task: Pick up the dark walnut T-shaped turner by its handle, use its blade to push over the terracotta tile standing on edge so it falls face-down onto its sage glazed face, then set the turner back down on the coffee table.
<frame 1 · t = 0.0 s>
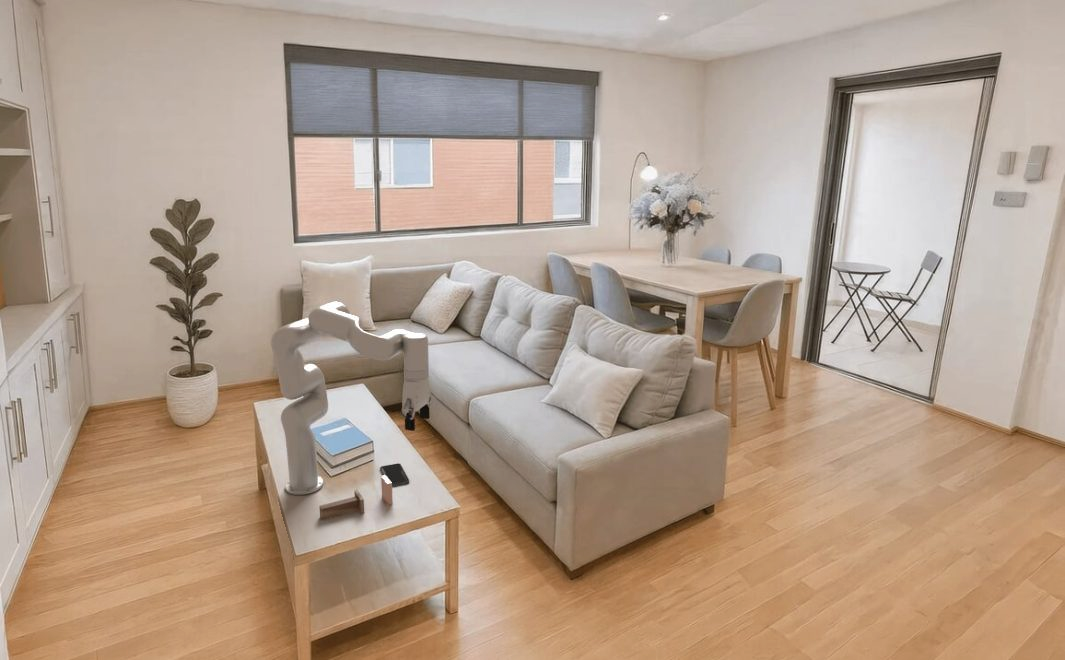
hand: (417, 423, 198), 31 cm above the table, tool pointing down, fingers open, 9 cm apart
phone: (394, 477, 229), on the table
turner: (339, 513, 204), on the table
tile: (387, 500, 212), on the table
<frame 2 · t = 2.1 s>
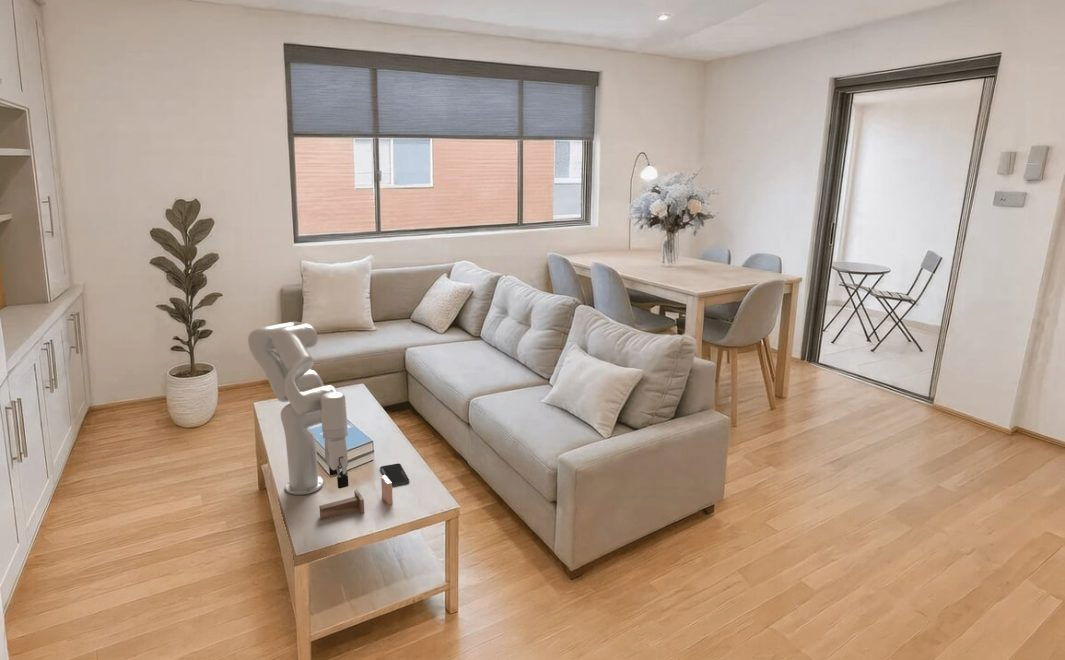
hand: (338, 480, 200), 12 cm above the table, tool pointing down, fingers open, 9 cm apart
nothing on the table moved.
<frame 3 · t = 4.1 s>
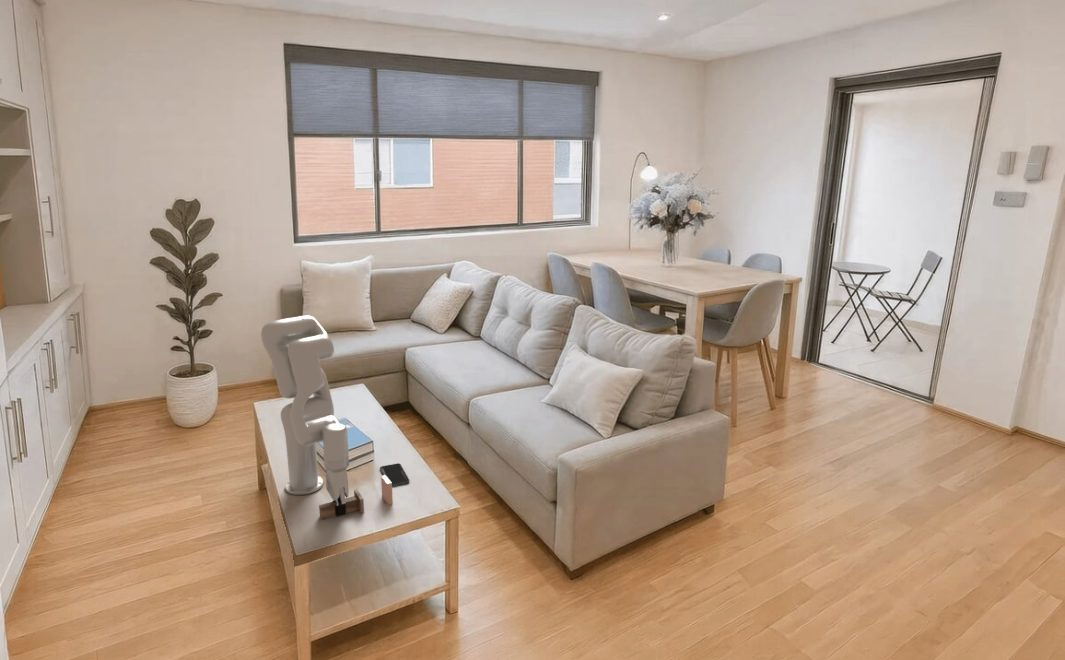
hand: (339, 512, 204), 0 cm above the table, tool pointing down, fingers closed on turner
turner: (339, 512, 204), on the table, touching gripper
everything else where it was.
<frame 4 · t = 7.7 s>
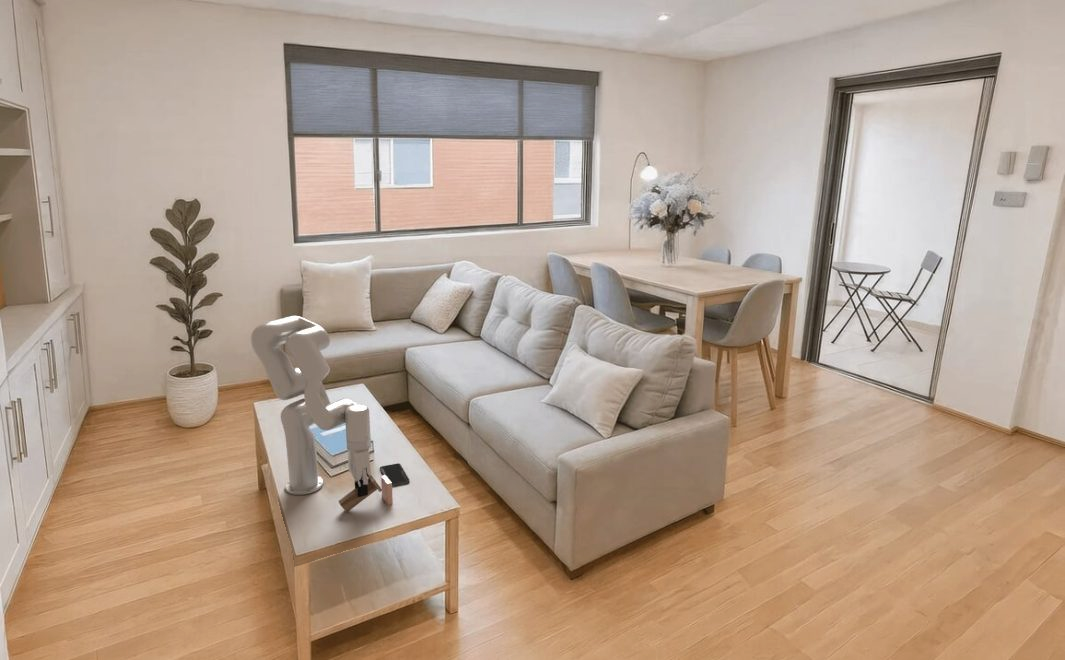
hand: (361, 493, 206), 5 cm above the table, tool pointing down, fingers closed on turner
turner: (361, 499, 207), point 3 cm above the table, tilted 28°, touching gripper
everything else where it was.
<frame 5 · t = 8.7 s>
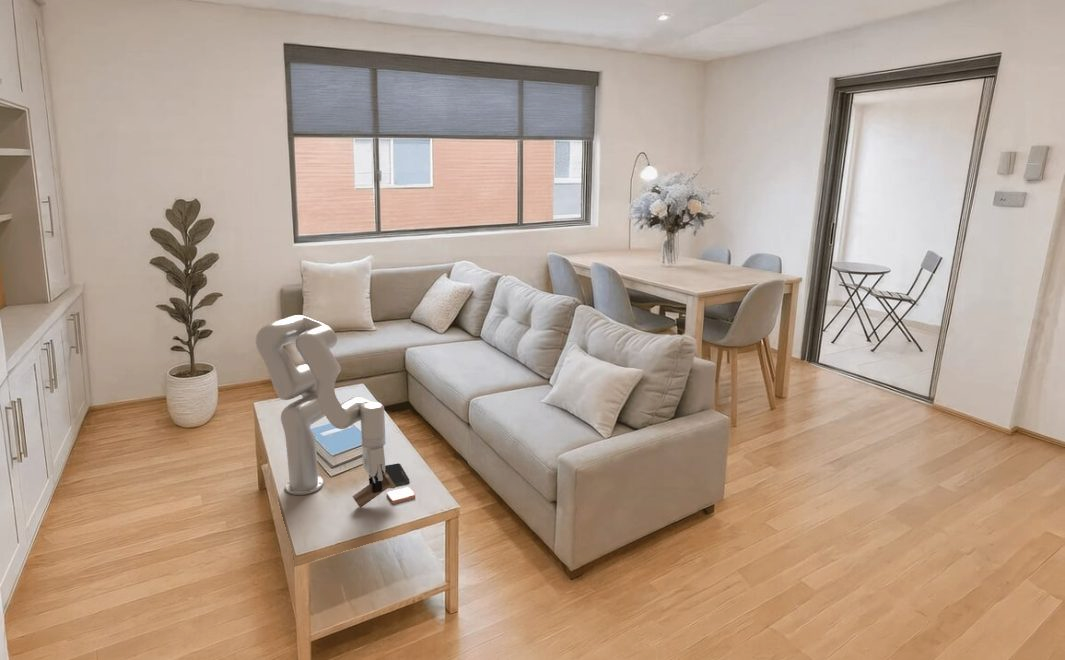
hand: (375, 489, 209), 5 cm above the table, tool pointing down, fingers closed on turner
turner: (374, 495, 209), point 3 cm above the table, tilted 26°, touching gripper
tile: (389, 498, 213), on the table, tilted 90°
everything else where it was.
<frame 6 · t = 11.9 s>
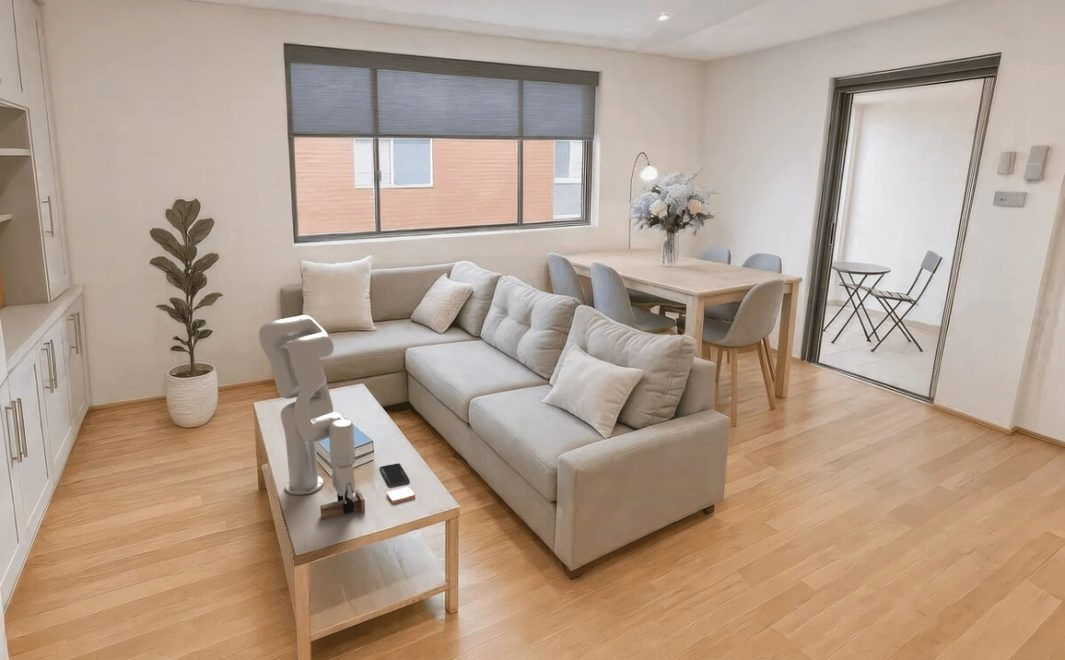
hand: (345, 507, 205), 2 cm above the table, tool pointing down, fingers open, 6 cm apart
turner: (340, 513, 204), on the table
everything else where it was.
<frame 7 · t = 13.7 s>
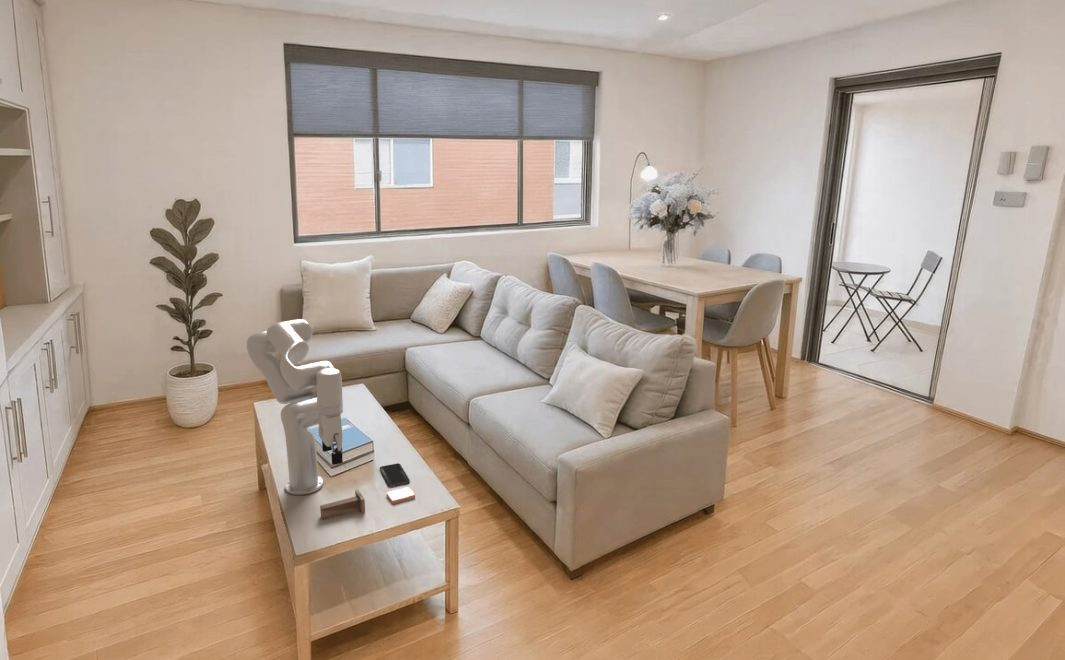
hand: (332, 457, 199), 20 cm above the table, tool pointing down, fingers open, 9 cm apart
nothing on the table moved.
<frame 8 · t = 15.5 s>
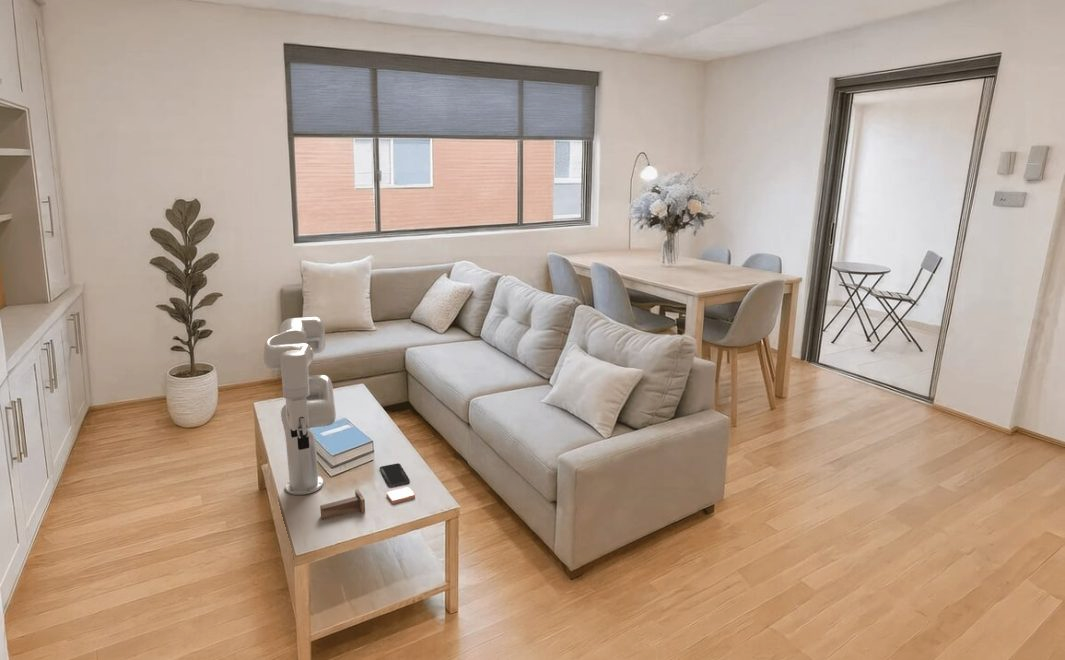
hand: (300, 442, 194), 26 cm above the table, tool pointing down, fingers open, 9 cm apart
nothing on the table moved.
at the end: tile tilted 90°; the gripper is holding nothing; turner inside the target area (1.7 cm from its centre), on the table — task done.
